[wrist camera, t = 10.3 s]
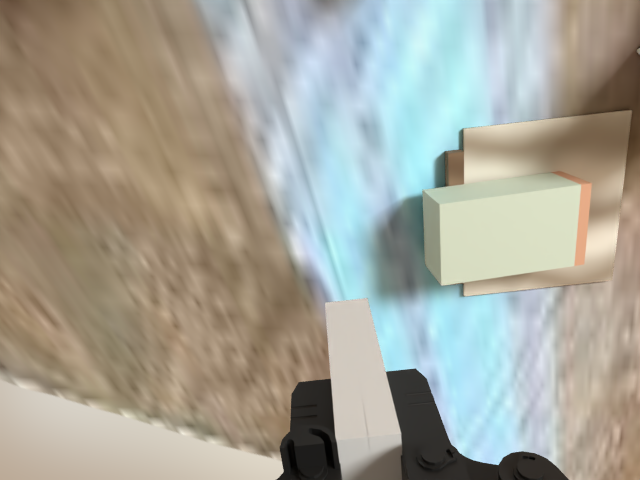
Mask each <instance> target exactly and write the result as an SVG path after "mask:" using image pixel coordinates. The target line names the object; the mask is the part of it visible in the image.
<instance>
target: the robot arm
mask: <svg viewBox="0 0 640 480" xmlns="http://www.w3.org/2000/svg"><path fill="white" fill-rule="evenodd" d="M325 309H326V321H327V334H328V347H329V360H330V373H331V379H325V380H316V381H306V382H299V383H298V385H297V386H296V388H295V390H294V391H293V393H292V398H291V423H290V432H289V433H288V434H287V435H286V436H285V437H284V438H283V439H282V442H281V446H280V452H281V458H282V464H283V469H284V472H283V474H282V475H281V476H280V477H279V478H278V479H277V480H569V479H568V478H567V477H566V476H565V475H564V474H563V473H562V472H561V471H560V470H559V469H558V468H557V467H556V466H555V465H554V464H553V463H551V462H550V461H549V460H548V459H546V458H544V457H542V456H540V455H537V454H535V453H529V452H515V453H511V454H509V455H507V456H505V457H504V458H503V459H502V461H501V462H500V464H499V465H493V464H487V463H481V462H477V461H473V460H471V459H469V458H467V457H464V456H463V455H462V454H460V453H459V452H458V451H457V449H456V448H455V447H453V446H452V445H451V443H450V441H449V439H448V436H447V433H446V431H445V428H444V425H443V422H442V420H441V417H440V414H439V411H438V409H437V406H436V404H435V401H434V398H433V395H432V393H431V390H430V387H429V384H428V382H427V379H426V378H425V377H424V376H423V375H422V374H421V373H420V372H419V371H418V370H416V369H408V370H399V371H389V372H386V371H385V367H384V363H383V359H382V355H381V351H380V347H379V343H378V339H377V335H376V331H375V327H374V323H373V319H372V315H371V311H370V307H369V303H368V299H367V298H364V299H355V300H346V301H337V302H327V303H325Z"/></svg>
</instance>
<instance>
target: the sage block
mask: <svg viewBox="0 0 640 480" xmlns="http://www.w3.org/2000/svg"><path fill="white" fill-rule="evenodd" d="M591 188H592V183H590V182H587V181H585V180H582V179H580V178H577V177H575V176H572V175H569V174H567V173H564V172H562V171H557V172H549V173H542V174H535V175H528V176H520V177H513V178H506V179H498V180H491V181H484V182H476V183H469V184H462V185H455V186H447V187H440V188H433V189H425V190H422V193H423V222H424V250H425V265H426V267H427V268H428V269H429V271H430V272H431V273H432V274H433V276H434V277H435V278H436V280H437V281H438V282H439V283H440V285H441V286H444V285H451V284H457V283H464V282H471V281H477V280H484V279H491V278H497V277H504V276H511V275H518V274H524V273H531V272H538V271H544V270H551V269H558V268H564V267H571V266H578V265H584V263H585V252H586V241H587V230H588V220H589V209H590V198H591Z"/></svg>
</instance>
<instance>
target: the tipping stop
mask: <svg viewBox="0 0 640 480" xmlns="http://www.w3.org/2000/svg"><path fill="white" fill-rule="evenodd" d="M631 116H632V110H623V111H614V112H605V113H596V114H587V115H578V116H570V117H561V118H552V119H543V120H534V121H525V122H517V123H508V124H499V125H490V126H481V127H472V128H463V151H462V150H452V151H445V184H446V187H447V186H455V185H462V184H469V183H476V182H484V181H491V180H498V179H506V178H513V177H520V176H528V175H535V174H542V173H549V172H557V171H562V172H564V173H567V174H569V175H572V176H575V177H577V178H580V179H582V180H585V181H587V182H590V183H592V188H591V198H590V209H589V220H588V230H587V241H586V252H585V263H584V265H578V266H571V267H564V268H558V269H551V270H544V271H538V272H531V273H524V274H518V275H511V276H504V277H497V278H491V279H484V280H477V281H471V282H464V283H457V284H463V295H464V296H472V295H481V294H490V293H500V292H509V291H518V290H527V289H536V288H546V287H555V286H564V285H573V284H583V283H592V282H601V281H610V280H612V276H613V268H614V259H615V251H616V242H617V234H618V226H619V217H620V209H621V200H622V192H623V183H624V175H625V167H626V158H627V150H628V141H629V133H630V124H631ZM451 285H454V284H451Z"/></svg>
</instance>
